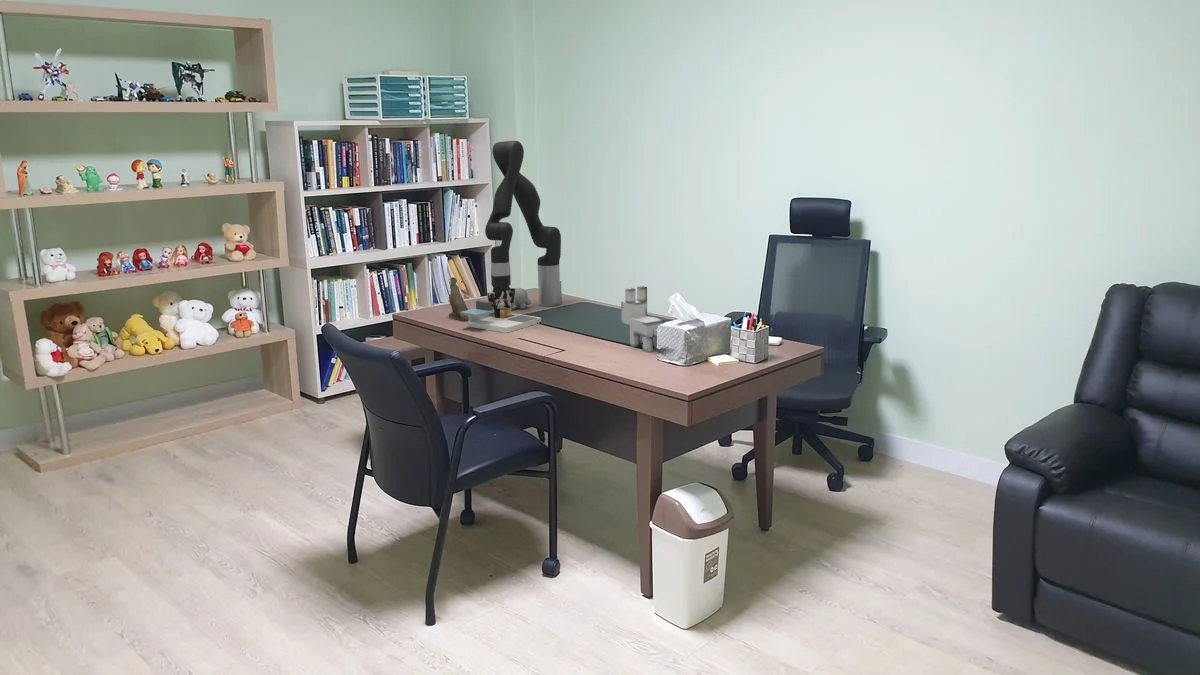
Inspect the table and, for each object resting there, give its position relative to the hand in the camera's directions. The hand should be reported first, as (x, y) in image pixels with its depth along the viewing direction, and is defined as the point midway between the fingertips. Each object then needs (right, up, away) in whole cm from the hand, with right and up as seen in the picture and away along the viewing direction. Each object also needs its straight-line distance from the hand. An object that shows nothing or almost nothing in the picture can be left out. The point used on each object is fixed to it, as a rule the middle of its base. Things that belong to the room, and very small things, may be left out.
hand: (502, 316), depth 345 cm
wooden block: (0, -2, +1) cm, 2 cm away
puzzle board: (+2, -3, -5) cm, 6 cm away
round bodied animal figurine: (+3, +3, +22) cm, 23 cm away
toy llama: (+54, -12, -41) cm, 69 cm away
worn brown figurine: (-17, -1, +6) cm, 18 cm away
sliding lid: (-8, +1, -12) cm, 14 cm away
